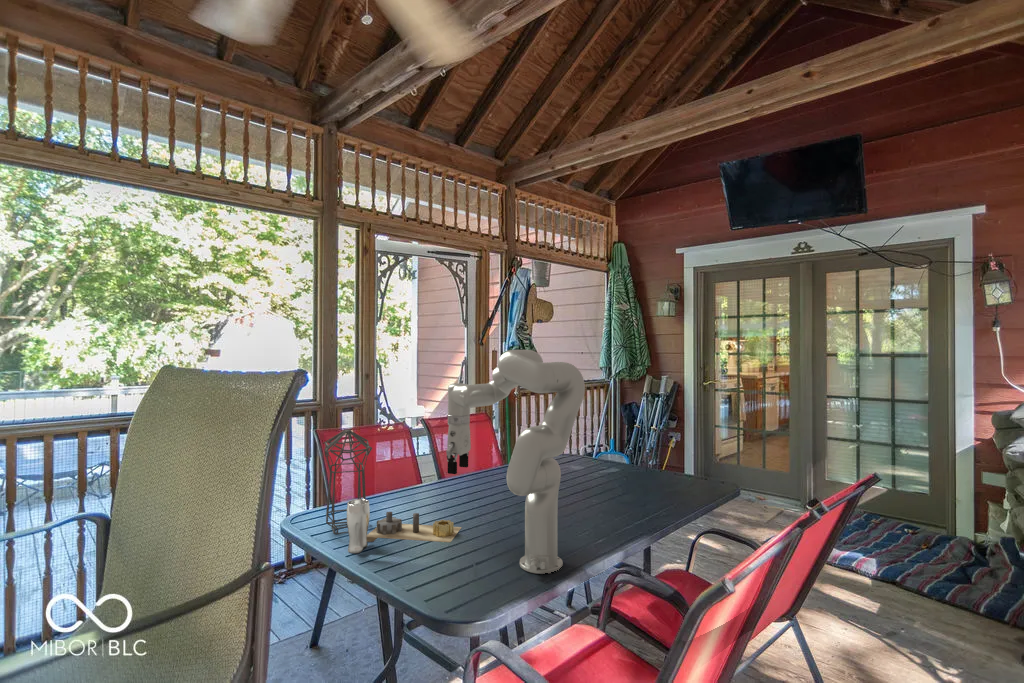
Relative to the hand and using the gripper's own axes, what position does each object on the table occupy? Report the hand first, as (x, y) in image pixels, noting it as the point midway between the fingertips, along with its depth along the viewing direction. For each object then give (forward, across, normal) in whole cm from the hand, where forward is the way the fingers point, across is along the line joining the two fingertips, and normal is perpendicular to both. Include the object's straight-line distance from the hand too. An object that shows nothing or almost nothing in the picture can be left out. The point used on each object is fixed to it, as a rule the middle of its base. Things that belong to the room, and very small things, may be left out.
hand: (458, 470), depth 176 cm
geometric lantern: (+22, -8, +39) cm, 45 cm away
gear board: (+22, -6, +13) cm, 26 cm away
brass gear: (+20, -4, +3) cm, 21 cm away
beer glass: (+22, -22, +24) cm, 39 cm away
